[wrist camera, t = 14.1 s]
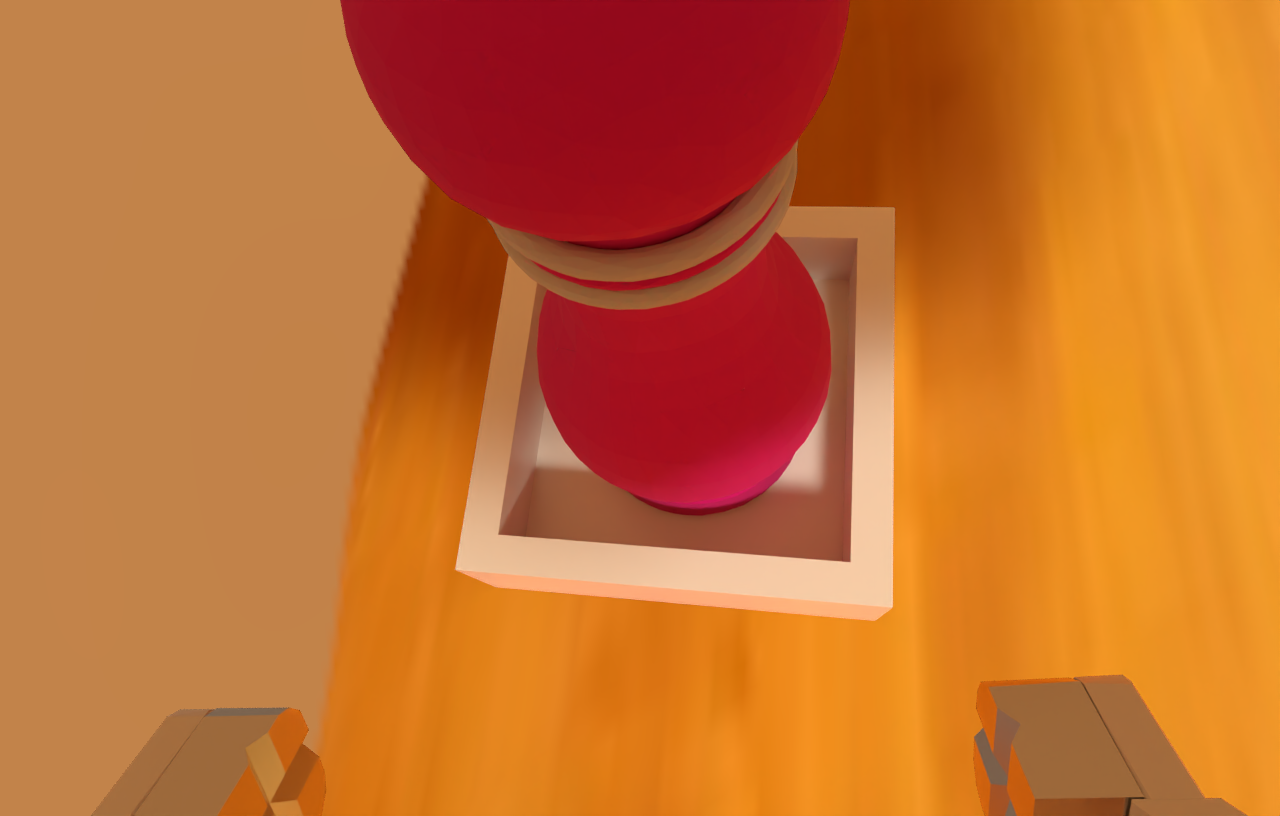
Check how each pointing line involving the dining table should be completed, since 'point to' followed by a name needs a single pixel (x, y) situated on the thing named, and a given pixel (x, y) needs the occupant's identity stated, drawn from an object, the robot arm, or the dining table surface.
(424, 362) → the dining table surface
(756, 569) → the mill holder
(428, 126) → the pepper mill
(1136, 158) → the dining table surface
